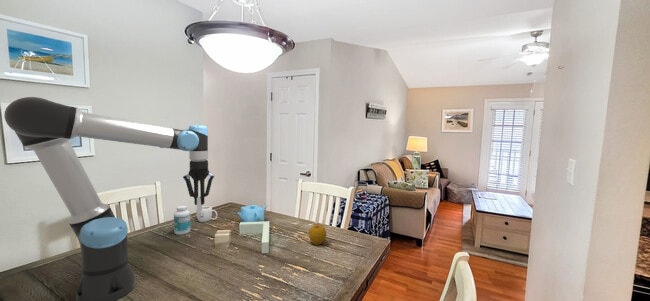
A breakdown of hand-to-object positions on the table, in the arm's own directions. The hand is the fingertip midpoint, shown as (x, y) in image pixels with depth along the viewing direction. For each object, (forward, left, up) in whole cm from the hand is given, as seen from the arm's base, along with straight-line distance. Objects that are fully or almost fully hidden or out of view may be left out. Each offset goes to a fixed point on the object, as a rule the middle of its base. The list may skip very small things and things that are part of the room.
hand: (199, 211), depth 121 cm
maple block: (0, -10, -17) cm, 19 cm away
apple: (-4, -54, -17) cm, 57 cm away
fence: (+2, -23, -16) cm, 29 cm away
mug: (+34, +4, -17) cm, 38 cm away
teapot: (+24, -22, -17) cm, 37 cm away
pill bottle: (+18, +13, -17) cm, 27 cm away
